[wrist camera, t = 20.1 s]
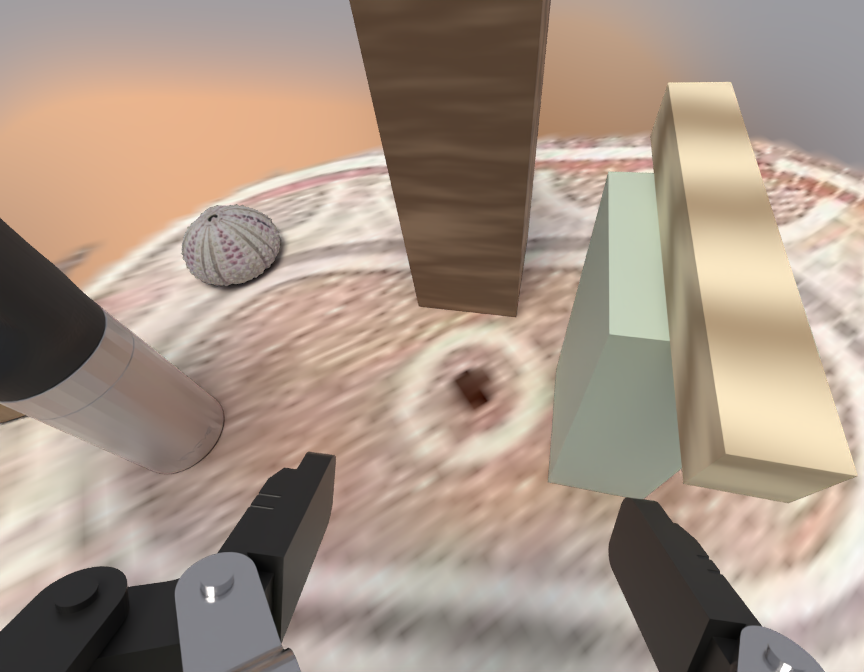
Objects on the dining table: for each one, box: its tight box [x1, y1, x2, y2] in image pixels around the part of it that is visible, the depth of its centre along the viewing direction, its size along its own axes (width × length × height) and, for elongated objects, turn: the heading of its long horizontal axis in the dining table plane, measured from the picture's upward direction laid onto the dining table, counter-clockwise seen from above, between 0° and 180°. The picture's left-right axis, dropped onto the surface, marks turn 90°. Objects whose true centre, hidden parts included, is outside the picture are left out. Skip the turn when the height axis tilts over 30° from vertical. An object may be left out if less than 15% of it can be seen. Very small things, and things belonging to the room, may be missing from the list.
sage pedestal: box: [548, 172, 820, 499], centre depth 30 cm, size 12×8×24 cm, turn 168°
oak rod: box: [650, 82, 858, 503], centre depth 19 cm, size 22×3×3 cm, turn 167°
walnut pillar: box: [349, 0, 551, 317], centre depth 41 cm, size 14×12×32 cm
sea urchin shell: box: [181, 204, 281, 286], centre depth 57 cm, size 13×14×8 cm
